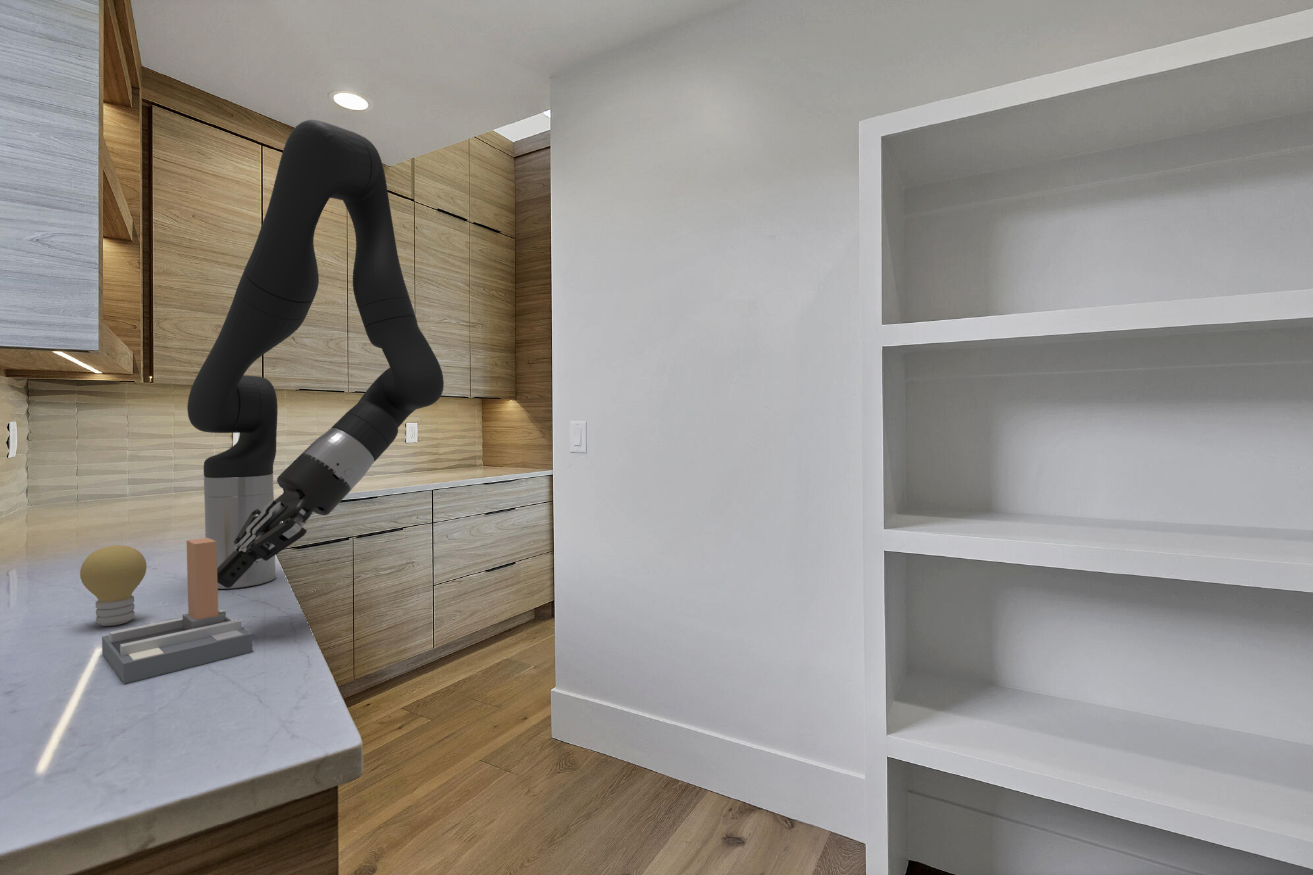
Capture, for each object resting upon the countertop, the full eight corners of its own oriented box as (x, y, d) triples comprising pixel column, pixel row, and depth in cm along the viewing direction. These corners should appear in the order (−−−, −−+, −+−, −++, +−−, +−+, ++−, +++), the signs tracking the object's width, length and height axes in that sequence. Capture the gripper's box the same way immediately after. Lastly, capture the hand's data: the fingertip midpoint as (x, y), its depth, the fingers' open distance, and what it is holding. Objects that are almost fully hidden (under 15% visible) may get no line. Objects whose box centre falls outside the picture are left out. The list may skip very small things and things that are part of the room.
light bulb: (88, 635, 74) (85, 553, 74) (76, 625, 78) (74, 547, 78) (154, 621, 79) (152, 544, 79) (140, 612, 83) (138, 539, 83)
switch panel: (102, 654, 68) (101, 627, 68) (220, 628, 77) (219, 604, 76) (123, 683, 60) (123, 653, 60) (252, 651, 69) (251, 625, 69)
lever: (182, 627, 70) (180, 540, 70) (214, 620, 73) (212, 536, 72) (192, 635, 68) (189, 545, 68) (224, 628, 70) (222, 540, 70)
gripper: (286, 450, 82) (174, 556, 73) (327, 453, 74) (207, 573, 65) (328, 486, 87) (228, 590, 78) (372, 492, 78) (265, 611, 69)
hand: (218, 582), depth 71 cm, fingers closed
